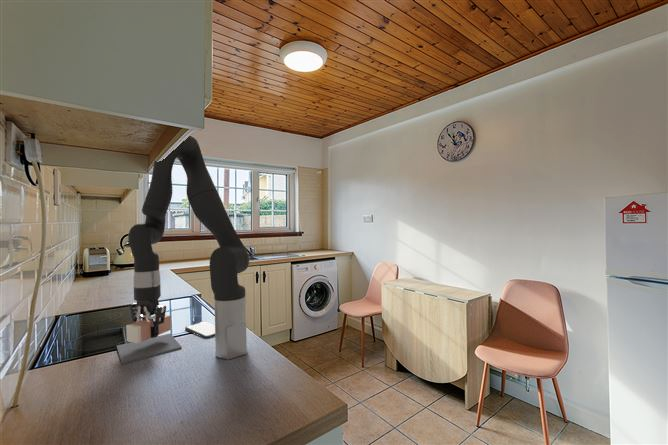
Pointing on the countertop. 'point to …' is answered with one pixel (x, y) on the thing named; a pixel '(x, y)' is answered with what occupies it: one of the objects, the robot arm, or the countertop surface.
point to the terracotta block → (145, 329)
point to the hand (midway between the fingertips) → (148, 335)
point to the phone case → (202, 329)
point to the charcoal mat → (147, 348)
